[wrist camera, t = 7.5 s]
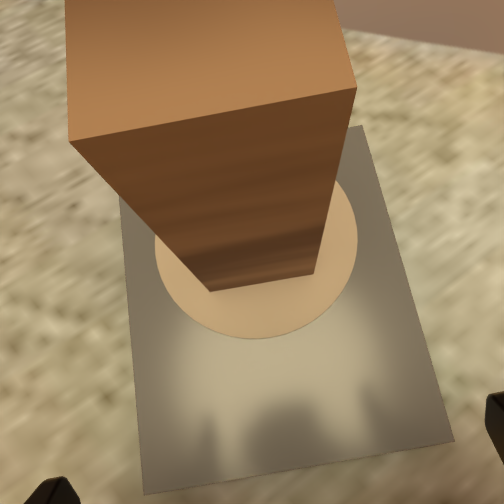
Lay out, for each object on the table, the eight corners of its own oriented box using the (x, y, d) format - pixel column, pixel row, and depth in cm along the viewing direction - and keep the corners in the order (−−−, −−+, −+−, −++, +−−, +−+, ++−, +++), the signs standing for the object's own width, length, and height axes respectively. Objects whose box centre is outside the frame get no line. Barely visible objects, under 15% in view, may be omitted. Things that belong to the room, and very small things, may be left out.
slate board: (441, 436, 17) (456, 442, 15) (155, 485, 17) (142, 497, 16) (357, 141, 21) (362, 122, 20) (128, 187, 22) (115, 172, 20)
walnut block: (313, 274, 18) (357, 86, 6) (209, 292, 18) (68, 141, 6) (294, 180, 19) (300, -116, 8) (197, 197, 19) (63, -67, 8)
